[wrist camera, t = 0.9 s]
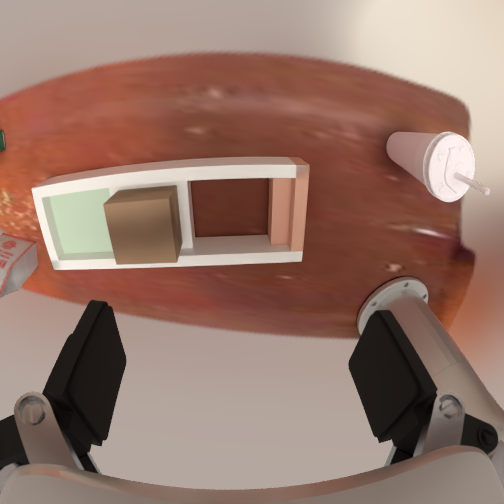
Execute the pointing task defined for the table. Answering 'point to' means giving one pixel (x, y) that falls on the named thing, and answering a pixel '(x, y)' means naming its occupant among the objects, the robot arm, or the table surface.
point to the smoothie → (436, 162)
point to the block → (144, 225)
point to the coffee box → (2, 141)
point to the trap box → (193, 248)
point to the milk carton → (15, 262)
